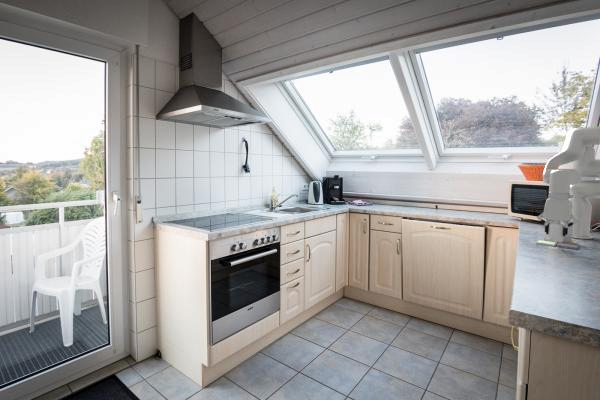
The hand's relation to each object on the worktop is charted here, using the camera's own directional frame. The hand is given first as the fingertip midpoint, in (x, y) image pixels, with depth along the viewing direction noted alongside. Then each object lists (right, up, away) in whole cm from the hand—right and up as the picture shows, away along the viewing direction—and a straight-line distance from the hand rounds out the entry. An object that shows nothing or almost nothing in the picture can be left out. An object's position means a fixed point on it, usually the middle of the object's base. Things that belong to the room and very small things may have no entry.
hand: (555, 234), depth 152 cm
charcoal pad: (+8, -6, +3) cm, 10 cm away
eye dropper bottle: (0, -3, 0) cm, 3 cm away
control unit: (+12, -5, +13) cm, 19 cm away
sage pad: (+2, -6, +9) cm, 10 cm away
